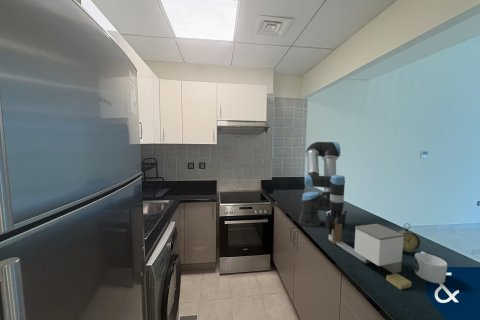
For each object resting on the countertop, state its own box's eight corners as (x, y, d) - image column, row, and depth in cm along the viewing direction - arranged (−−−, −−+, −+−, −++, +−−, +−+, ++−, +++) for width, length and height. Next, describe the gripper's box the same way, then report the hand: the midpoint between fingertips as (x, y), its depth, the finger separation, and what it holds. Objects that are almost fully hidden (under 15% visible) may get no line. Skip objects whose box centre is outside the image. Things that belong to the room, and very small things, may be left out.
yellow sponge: (386, 280, 86) (386, 275, 86) (396, 278, 88) (396, 273, 88) (400, 290, 81) (400, 284, 81) (411, 287, 82) (411, 282, 82)
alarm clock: (397, 253, 108) (399, 224, 107) (391, 248, 113) (393, 220, 112) (419, 255, 107) (422, 226, 105) (412, 250, 112) (414, 222, 111)
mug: (451, 287, 82) (453, 268, 82) (419, 280, 86) (421, 262, 86) (434, 268, 95) (435, 252, 94) (407, 263, 99) (408, 248, 98)
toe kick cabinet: (353, 260, 101) (355, 226, 100) (375, 256, 105) (377, 223, 104) (377, 277, 88) (380, 238, 87) (401, 271, 92) (404, 234, 91)
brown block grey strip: (328, 240, 121) (329, 221, 121) (335, 239, 123) (335, 220, 122) (363, 263, 97) (365, 239, 97) (371, 262, 99) (373, 238, 98)
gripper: (328, 204, 112) (326, 243, 114) (354, 202, 117) (351, 240, 118) (319, 200, 119) (318, 237, 121) (344, 198, 124) (342, 234, 126)
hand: (334, 238), depth 120 cm, fingers closed on brown block grey strip, 5 cm apart
